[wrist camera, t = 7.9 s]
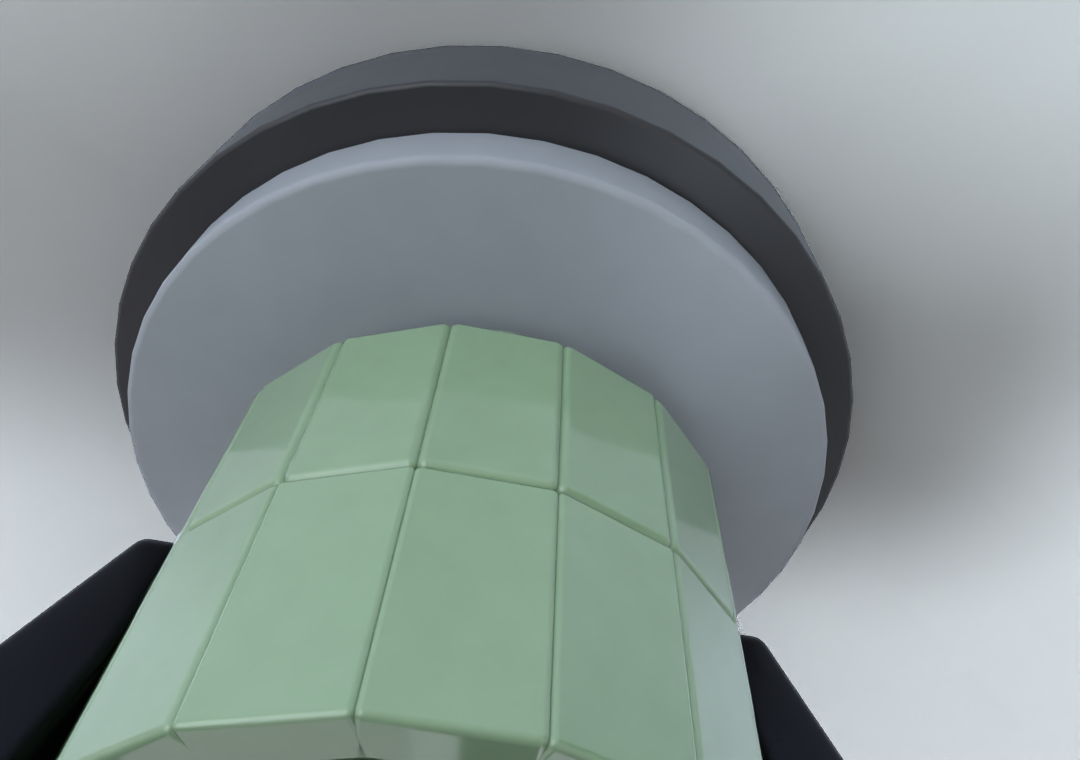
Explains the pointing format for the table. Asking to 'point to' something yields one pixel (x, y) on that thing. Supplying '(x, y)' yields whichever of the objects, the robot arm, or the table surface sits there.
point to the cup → (438, 574)
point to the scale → (496, 269)
